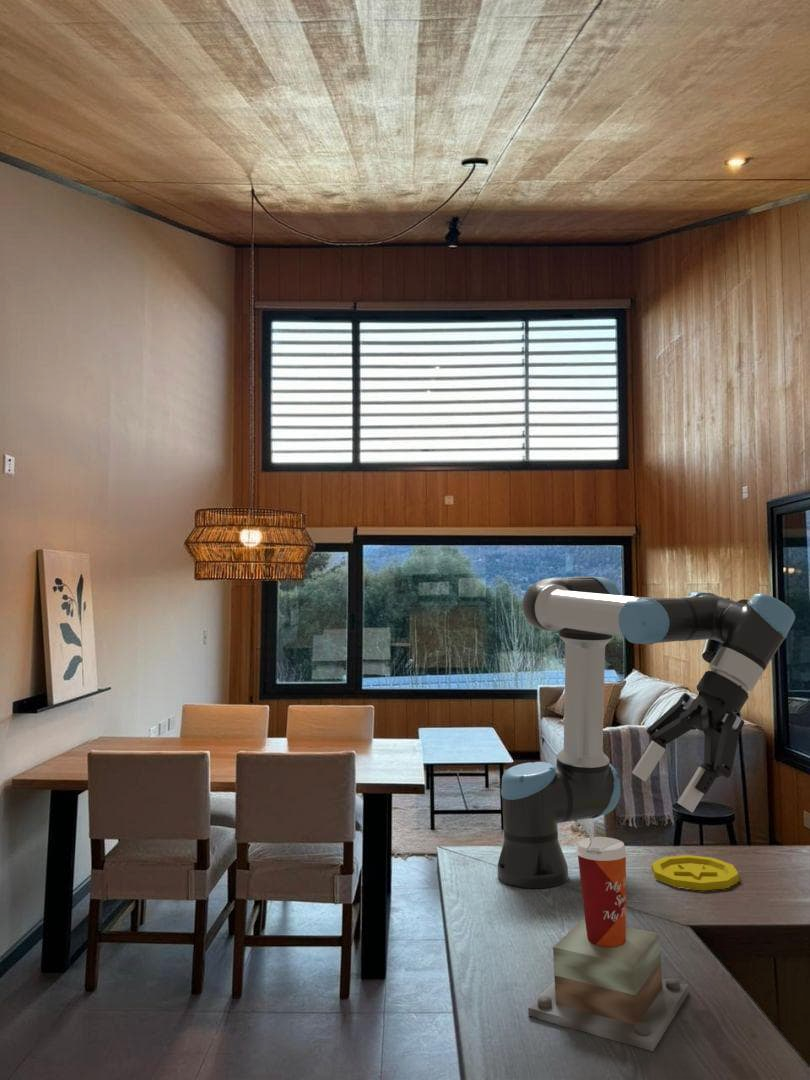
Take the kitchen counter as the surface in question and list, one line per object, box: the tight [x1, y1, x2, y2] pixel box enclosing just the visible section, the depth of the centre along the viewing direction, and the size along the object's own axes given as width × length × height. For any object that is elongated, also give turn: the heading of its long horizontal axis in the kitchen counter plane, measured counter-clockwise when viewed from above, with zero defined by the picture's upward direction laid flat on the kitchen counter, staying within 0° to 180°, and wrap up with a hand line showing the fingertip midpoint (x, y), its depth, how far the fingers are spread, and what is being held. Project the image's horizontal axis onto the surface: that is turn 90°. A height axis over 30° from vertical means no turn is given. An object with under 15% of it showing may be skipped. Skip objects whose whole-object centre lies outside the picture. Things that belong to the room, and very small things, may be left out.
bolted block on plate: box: [527, 917, 690, 1052], centre depth 118 cm, size 18×18×9 cm
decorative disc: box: [651, 854, 740, 891], centre depth 169 cm, size 17×18×2 cm
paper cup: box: [575, 836, 629, 947], centre depth 120 cm, size 8×8×14 cm
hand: (660, 792), depth 129 cm, fingers open, 13 cm apart
